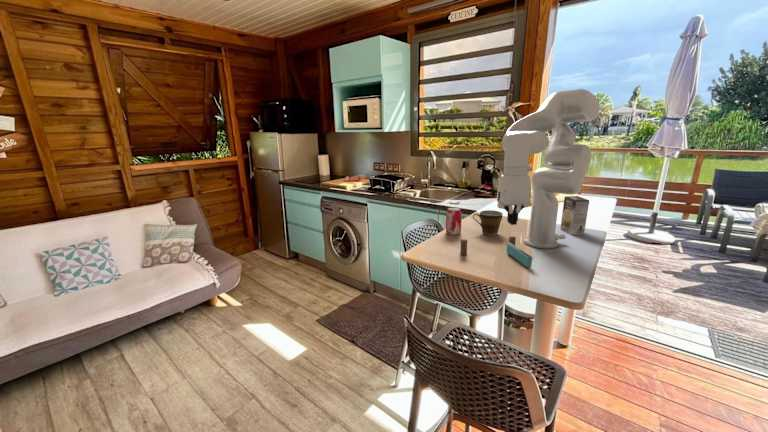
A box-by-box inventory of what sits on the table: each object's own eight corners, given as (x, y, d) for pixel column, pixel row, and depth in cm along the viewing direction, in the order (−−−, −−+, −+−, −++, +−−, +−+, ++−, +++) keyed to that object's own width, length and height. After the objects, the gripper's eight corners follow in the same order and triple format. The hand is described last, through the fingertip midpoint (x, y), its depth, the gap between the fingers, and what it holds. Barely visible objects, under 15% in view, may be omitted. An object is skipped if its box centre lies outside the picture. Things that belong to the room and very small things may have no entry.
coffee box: (559, 229, 145) (563, 196, 141) (573, 228, 145) (577, 195, 141) (570, 235, 136) (575, 200, 132) (585, 234, 136) (590, 199, 132)
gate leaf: (506, 252, 118) (507, 242, 117) (510, 251, 118) (511, 242, 117) (526, 266, 105) (527, 256, 104) (531, 266, 105) (532, 255, 104)
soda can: (461, 236, 139) (462, 210, 136) (445, 235, 141) (446, 210, 138) (460, 231, 146) (461, 207, 143) (445, 230, 148) (446, 206, 144)
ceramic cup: (499, 230, 145) (501, 210, 143) (502, 237, 136) (504, 216, 133) (471, 229, 148) (472, 209, 146) (472, 236, 139) (473, 215, 136)
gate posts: (512, 250, 121) (513, 235, 120) (515, 252, 119) (517, 237, 117) (459, 253, 119) (460, 239, 118) (461, 255, 117) (462, 241, 115)
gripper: (532, 168, 104) (528, 219, 109) (489, 170, 104) (487, 221, 109) (544, 171, 97) (539, 225, 102) (497, 174, 97) (494, 228, 102)
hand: (512, 223), depth 106 cm, fingers closed
